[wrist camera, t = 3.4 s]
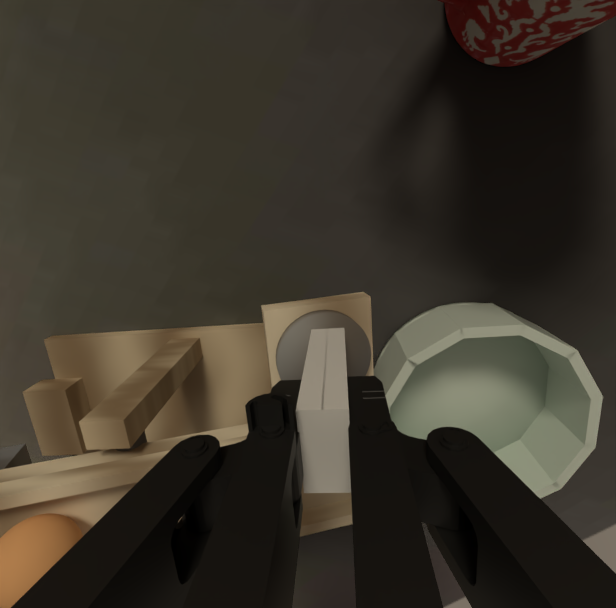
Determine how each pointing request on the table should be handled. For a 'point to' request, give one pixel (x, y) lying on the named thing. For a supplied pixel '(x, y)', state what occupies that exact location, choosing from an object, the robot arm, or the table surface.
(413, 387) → the bowl
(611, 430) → the table surface
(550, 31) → the mug
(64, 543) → the ball
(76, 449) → the stand
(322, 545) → the table surface
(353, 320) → the lever
